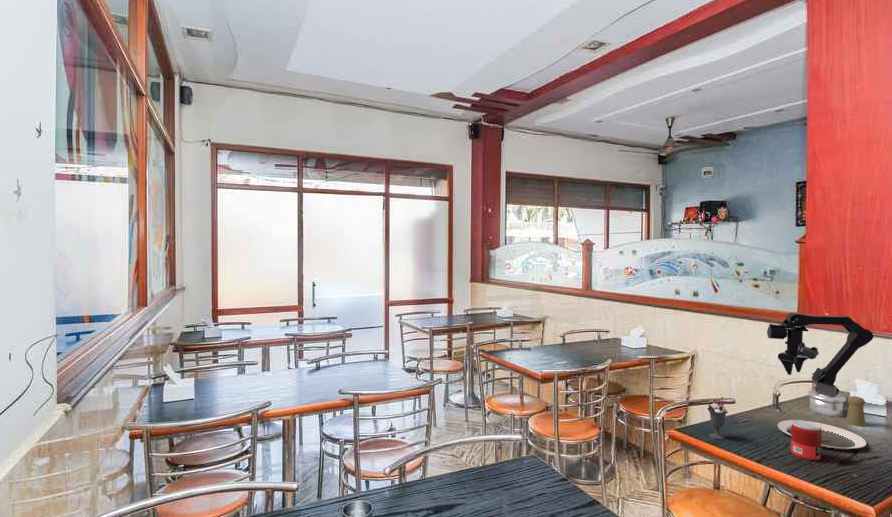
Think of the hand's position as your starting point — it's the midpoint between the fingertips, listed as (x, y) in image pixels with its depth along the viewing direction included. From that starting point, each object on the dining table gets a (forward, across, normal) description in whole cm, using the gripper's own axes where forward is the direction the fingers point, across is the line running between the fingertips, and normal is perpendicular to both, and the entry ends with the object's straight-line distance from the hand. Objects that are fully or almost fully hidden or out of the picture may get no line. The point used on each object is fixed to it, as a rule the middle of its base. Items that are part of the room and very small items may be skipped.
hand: (793, 373), depth 211 cm
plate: (+14, -40, -24) cm, 49 cm away
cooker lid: (+6, -5, -14) cm, 16 cm away
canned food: (+13, -63, -28) cm, 70 cm away
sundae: (+13, -73, -4) cm, 74 cm away
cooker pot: (+13, -5, -14) cm, 20 cm away
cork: (+13, -11, -26) cm, 31 cm away
